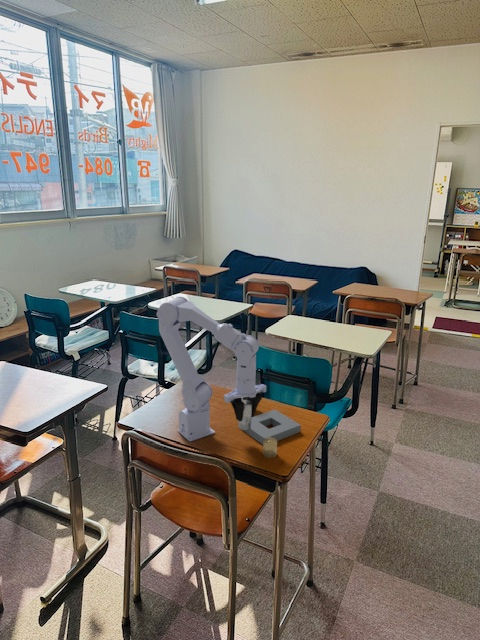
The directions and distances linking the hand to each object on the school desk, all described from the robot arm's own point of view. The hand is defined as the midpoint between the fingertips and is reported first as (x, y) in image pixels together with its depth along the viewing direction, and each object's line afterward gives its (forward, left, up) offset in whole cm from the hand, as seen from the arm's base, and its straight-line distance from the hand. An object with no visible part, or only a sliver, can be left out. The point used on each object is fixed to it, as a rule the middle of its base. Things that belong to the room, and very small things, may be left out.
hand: (244, 417), depth 135 cm
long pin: (0, 0, -3) cm, 3 cm away
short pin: (+2, -10, -8) cm, 13 cm away
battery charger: (+14, +17, -8) cm, 23 cm away
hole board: (+11, +1, -8) cm, 14 cm away
